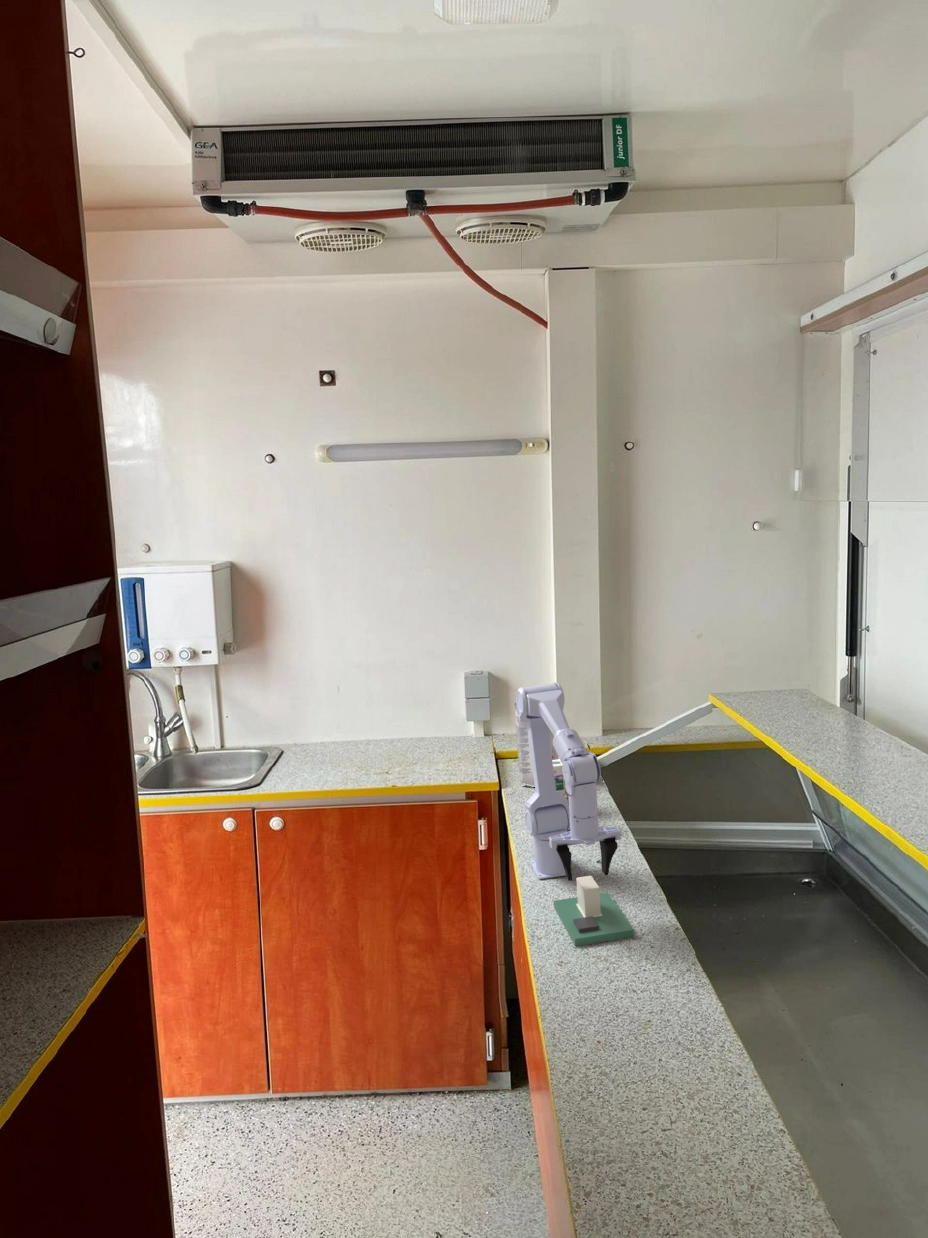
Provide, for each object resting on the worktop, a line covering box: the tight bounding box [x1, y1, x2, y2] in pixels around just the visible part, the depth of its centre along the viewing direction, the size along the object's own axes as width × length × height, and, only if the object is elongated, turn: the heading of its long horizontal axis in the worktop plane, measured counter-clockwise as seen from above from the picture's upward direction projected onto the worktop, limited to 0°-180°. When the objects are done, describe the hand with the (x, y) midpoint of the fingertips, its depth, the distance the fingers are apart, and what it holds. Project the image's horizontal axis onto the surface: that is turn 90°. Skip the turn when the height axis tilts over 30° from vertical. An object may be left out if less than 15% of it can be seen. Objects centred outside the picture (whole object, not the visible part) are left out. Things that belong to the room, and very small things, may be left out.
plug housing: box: [575, 875, 601, 917], centre depth 182 cm, size 7×3×6 cm, turn 9°
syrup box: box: [549, 758, 567, 806], centre depth 235 cm, size 6×6×14 cm
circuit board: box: [553, 892, 635, 947], centre depth 180 cm, size 16×12×3 cm
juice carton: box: [514, 702, 559, 785], centre depth 257 cm, size 9×10×27 cm
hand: (587, 876), depth 180 cm, fingers open, 7 cm apart
